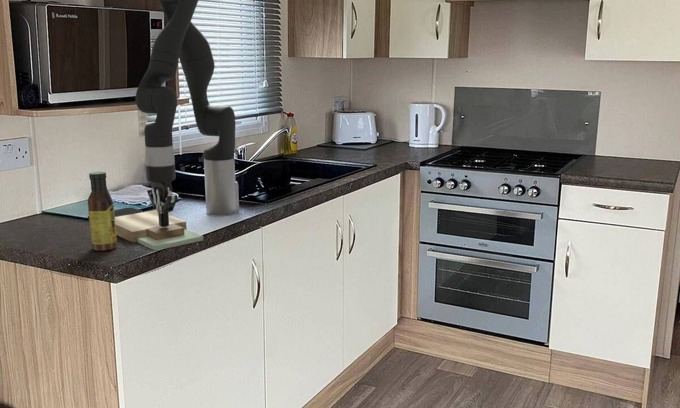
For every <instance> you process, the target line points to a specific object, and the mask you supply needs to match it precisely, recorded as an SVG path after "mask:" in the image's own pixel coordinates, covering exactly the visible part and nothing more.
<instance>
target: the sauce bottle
mask: <svg viewBox="0 0 680 408" xmlns="http://www.w3.org/2000/svg"><path fill="white" fill-rule="evenodd" d="M88 177H89V180H90V187H91V188H90V190H91V191H90V194H89V196H88V198H87V206H88V207H87V208H88V210H87V212H88V216H89V219H88V222H89V232H90V239H91V240H90V241H91V245H92V247H91V248H92V249H93V250H94V251H96V252H105V251H111V250H114V249H115V248H116V247H117V241H118V240H117V239H118V237H117V235H116V226H115V215H114V210H115V208H114V207H115V206H114V201H113V199H112V197H111V195H110V192H109V190H108V187H107V172H105V171H94V172H89V173H88Z"/></svg>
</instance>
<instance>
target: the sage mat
mask: <svg viewBox="0 0 680 408" xmlns="http://www.w3.org/2000/svg"><path fill="white" fill-rule="evenodd" d="M184 234H185V235H182V236H177V237H172V238H168V239H163V240H158V241H157V240H155V239H153V238H150V237H148V236H145V237H140V238H137V241H138V242H137V243H139V244H141V245H143V246H144V247H146V248H149V249H150V250H153V251H155V250H156V251H160V250H159V249H161V250H164V248H165V249H166V250H167V249H170V248H174V247H180V246H182V245H183V246H184V245H188V244H193V243H196V242H197V243H198V242H202V241H204V236H203V235H202V234H199V233H196V232H194V231H191V230H189V229H187V230H186V229H184Z"/></svg>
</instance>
